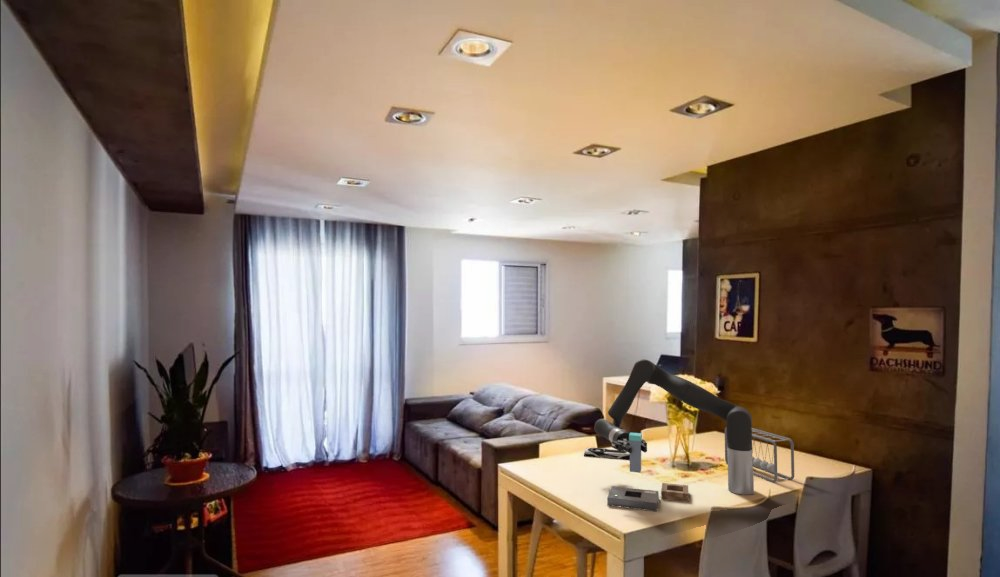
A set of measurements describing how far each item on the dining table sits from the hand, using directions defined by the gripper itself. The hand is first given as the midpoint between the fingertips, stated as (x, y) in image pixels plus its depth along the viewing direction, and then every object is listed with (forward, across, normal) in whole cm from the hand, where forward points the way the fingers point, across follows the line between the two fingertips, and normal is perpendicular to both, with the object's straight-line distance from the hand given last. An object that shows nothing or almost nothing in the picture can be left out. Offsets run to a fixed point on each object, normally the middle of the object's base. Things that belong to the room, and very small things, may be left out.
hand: (638, 450), depth 205 cm
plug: (-3, 0, +9) cm, 9 cm away
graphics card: (-63, +13, +21) cm, 68 cm away
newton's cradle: (-25, +69, +20) cm, 76 cm away
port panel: (-2, -1, +20) cm, 20 cm away
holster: (-5, +18, +20) cm, 27 cm away
